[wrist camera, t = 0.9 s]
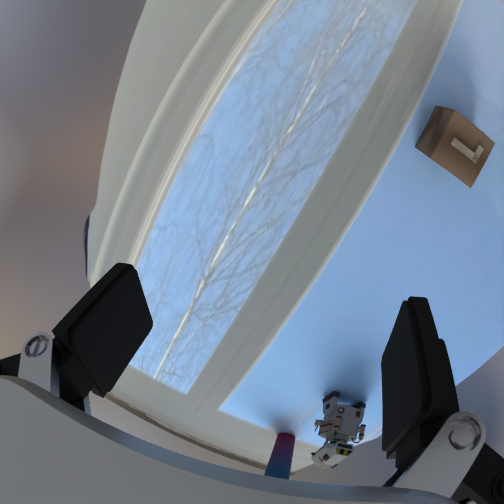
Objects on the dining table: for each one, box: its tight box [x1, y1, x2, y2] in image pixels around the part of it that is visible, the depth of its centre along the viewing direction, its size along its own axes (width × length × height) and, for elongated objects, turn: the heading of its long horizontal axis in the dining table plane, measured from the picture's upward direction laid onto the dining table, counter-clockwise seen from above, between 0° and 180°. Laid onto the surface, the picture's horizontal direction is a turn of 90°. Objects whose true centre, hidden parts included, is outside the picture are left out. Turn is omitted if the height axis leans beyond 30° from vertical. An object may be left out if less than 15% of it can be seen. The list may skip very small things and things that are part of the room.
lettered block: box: [415, 106, 495, 188], centre depth 25 cm, size 6×6×6 cm
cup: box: [264, 433, 295, 479], centre depth 65 cm, size 7×7×15 cm
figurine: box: [311, 391, 366, 469], centre depth 51 cm, size 9×12×15 cm
